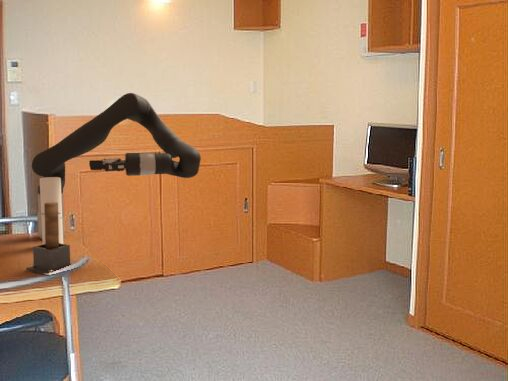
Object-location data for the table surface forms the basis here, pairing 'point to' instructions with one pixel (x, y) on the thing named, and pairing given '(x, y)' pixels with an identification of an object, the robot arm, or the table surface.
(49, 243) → the walnut rail
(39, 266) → the dark grey open box
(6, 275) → the table surface
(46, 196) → the cream tall block
